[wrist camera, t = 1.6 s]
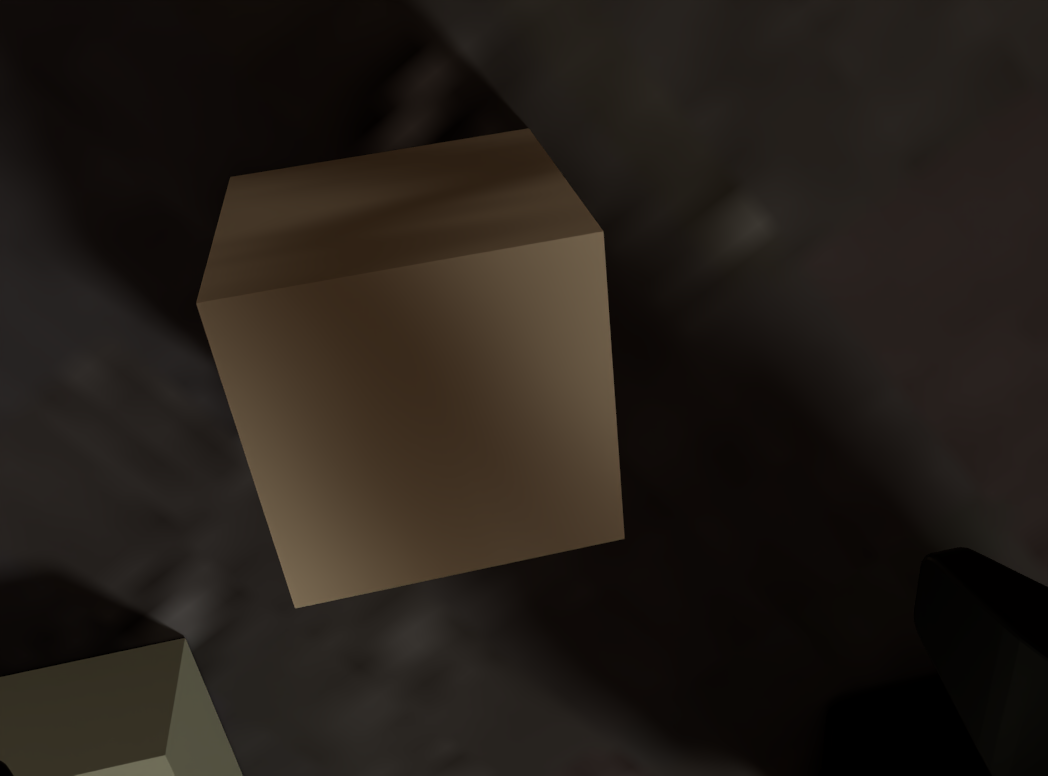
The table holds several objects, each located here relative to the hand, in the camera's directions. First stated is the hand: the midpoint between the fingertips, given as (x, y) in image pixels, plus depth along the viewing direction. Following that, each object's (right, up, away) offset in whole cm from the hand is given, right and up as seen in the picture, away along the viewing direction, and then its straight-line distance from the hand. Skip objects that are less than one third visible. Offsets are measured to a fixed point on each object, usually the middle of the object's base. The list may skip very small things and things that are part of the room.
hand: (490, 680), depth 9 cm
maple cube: (-2, +5, +8) cm, 9 cm away
